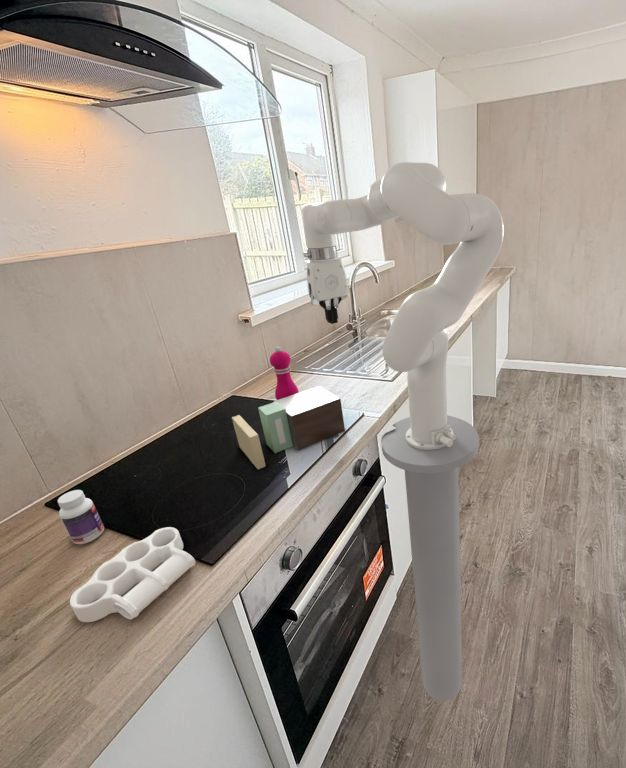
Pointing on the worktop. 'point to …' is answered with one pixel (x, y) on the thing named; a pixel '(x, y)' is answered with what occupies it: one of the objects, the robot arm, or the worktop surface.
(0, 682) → the worktop surface
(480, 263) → the robot arm
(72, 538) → the pill bottle
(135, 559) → the knuckle duster
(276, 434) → the tissue box
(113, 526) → the worktop surface
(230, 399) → the worktop surface
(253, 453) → the rail
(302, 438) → the block
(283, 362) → the pepper mill
